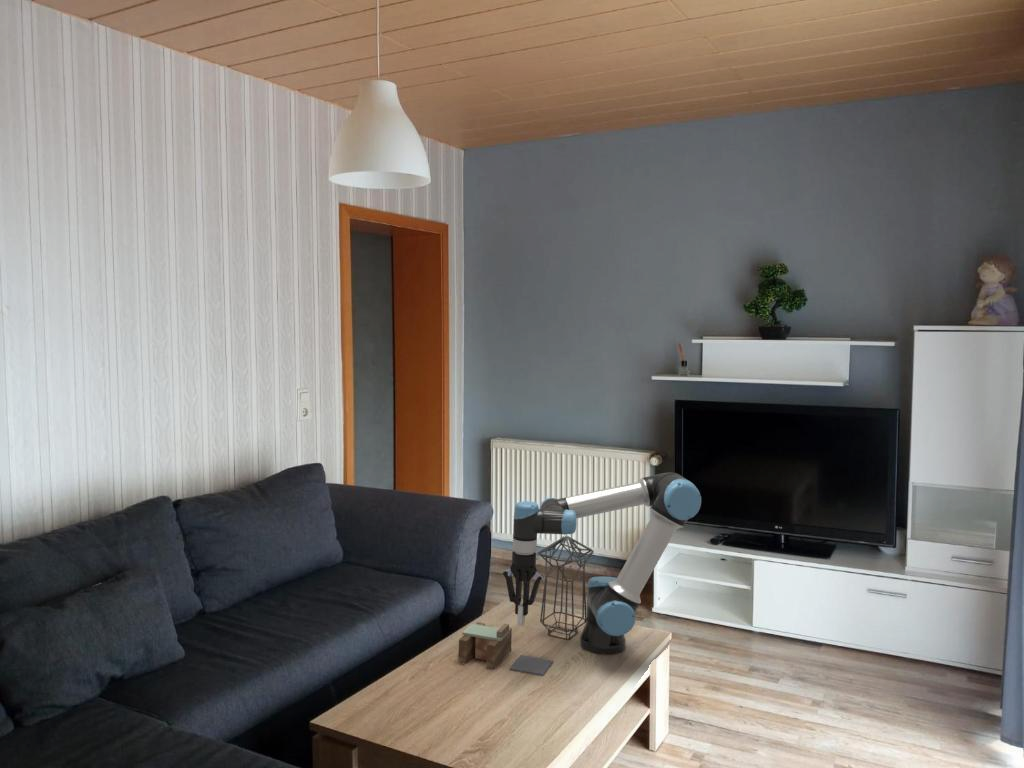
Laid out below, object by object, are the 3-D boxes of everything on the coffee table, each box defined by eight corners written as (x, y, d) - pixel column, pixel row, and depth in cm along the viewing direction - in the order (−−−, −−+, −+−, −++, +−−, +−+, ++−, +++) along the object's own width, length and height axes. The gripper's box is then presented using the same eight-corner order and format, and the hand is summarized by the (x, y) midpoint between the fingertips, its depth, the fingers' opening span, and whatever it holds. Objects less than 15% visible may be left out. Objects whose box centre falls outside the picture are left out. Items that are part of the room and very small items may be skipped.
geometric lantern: (592, 632, 286) (597, 535, 282) (571, 648, 273) (575, 546, 269) (553, 621, 295) (557, 526, 290) (530, 636, 281) (534, 537, 277)
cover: (509, 632, 264) (509, 623, 264) (500, 641, 257) (500, 632, 257) (471, 625, 269) (472, 617, 268) (462, 634, 261) (462, 626, 261)
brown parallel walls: (511, 649, 269) (511, 627, 268) (493, 669, 254) (494, 646, 253) (477, 643, 273) (477, 622, 272) (458, 662, 258) (458, 639, 257)
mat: (553, 662, 261) (553, 660, 261) (543, 676, 250) (543, 674, 250) (520, 656, 264) (520, 654, 264) (509, 670, 254) (509, 668, 254)
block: (495, 654, 265) (495, 633, 264) (489, 660, 260) (490, 639, 260) (480, 652, 267) (481, 631, 266) (475, 658, 262) (475, 636, 261)
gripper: (547, 551, 258) (544, 624, 260) (508, 545, 262) (505, 617, 264) (540, 557, 251) (536, 632, 253) (500, 551, 255) (497, 625, 257)
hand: (520, 624), depth 258 cm, fingers closed
